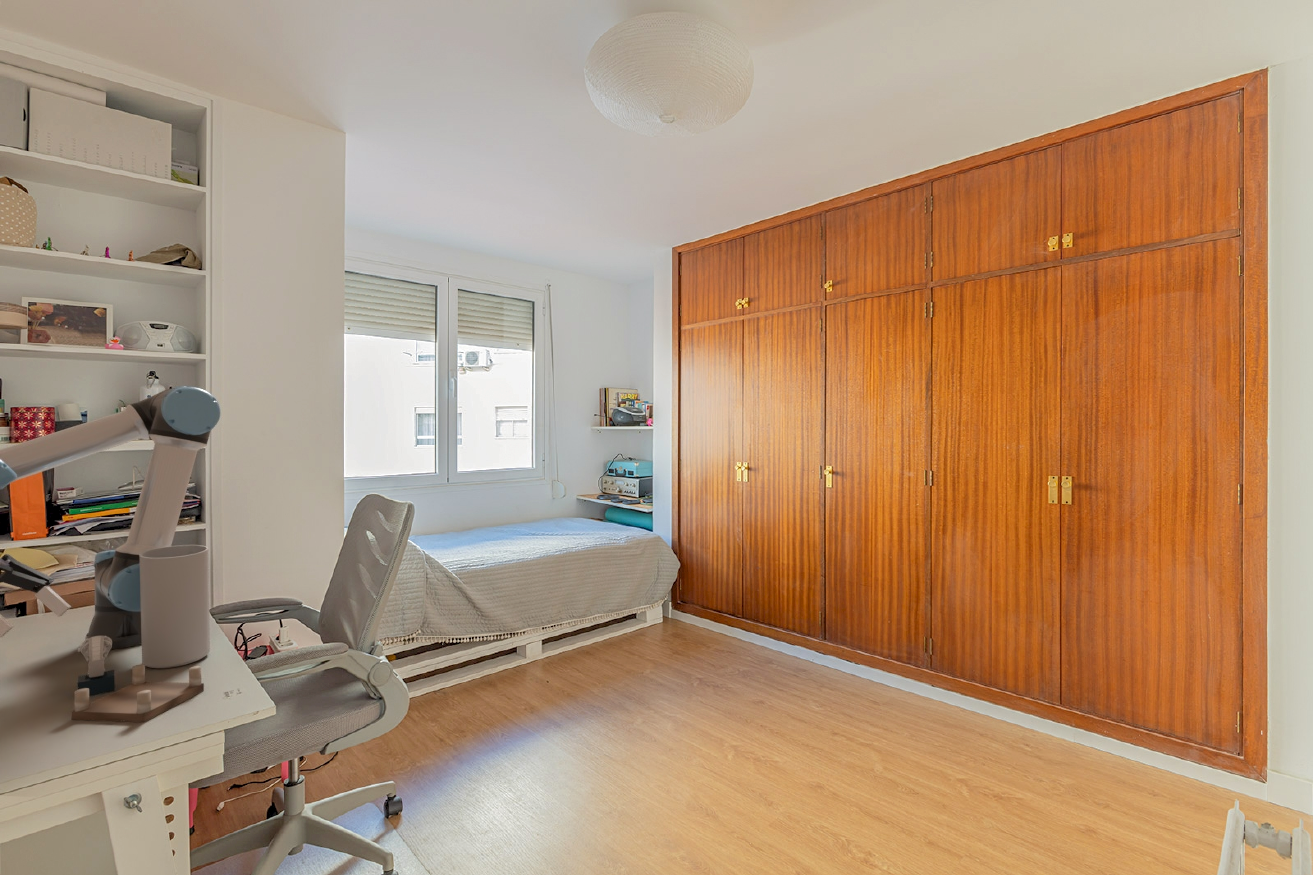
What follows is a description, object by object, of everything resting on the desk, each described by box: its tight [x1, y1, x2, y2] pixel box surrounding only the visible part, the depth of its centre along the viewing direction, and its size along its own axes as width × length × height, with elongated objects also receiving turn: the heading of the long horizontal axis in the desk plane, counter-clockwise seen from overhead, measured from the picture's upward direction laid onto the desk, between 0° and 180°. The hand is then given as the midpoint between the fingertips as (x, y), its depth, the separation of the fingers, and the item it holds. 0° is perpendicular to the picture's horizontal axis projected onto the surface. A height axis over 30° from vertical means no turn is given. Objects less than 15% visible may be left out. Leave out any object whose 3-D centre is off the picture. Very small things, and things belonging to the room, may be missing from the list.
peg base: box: [70, 663, 205, 723], centre depth 122 cm, size 14×14×5 cm
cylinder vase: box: [139, 544, 211, 669], centre depth 145 cm, size 12×12×25 cm
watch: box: [77, 636, 116, 697], centre depth 128 cm, size 6×8×11 cm
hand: (37, 621), depth 127 cm, fingers open, 13 cm apart
